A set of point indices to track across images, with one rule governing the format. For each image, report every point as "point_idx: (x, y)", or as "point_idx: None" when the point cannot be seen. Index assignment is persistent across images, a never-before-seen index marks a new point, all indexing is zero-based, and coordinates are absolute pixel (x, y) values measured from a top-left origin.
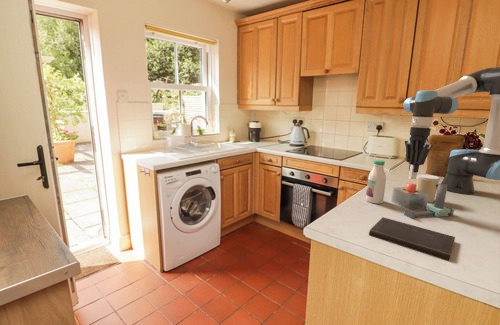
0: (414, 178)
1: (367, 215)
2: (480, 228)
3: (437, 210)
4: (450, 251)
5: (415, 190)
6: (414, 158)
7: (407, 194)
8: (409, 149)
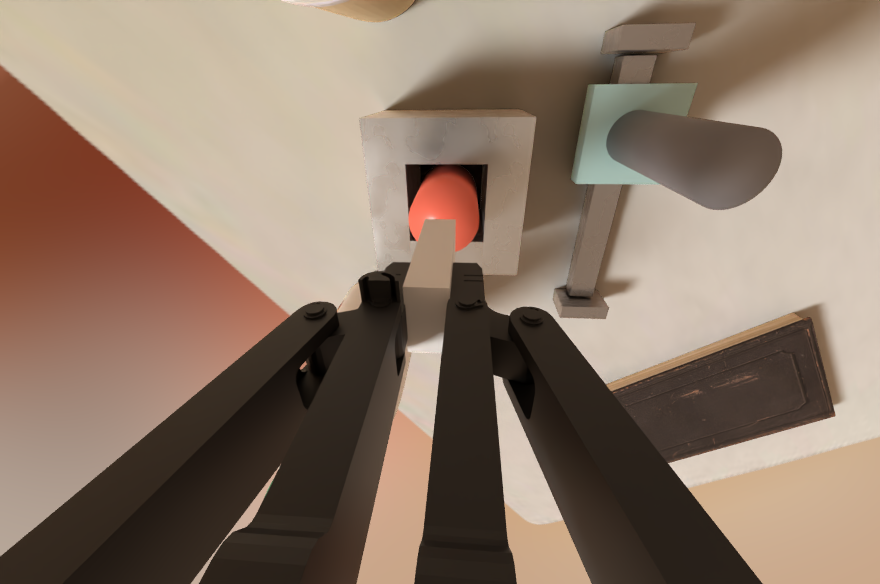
0: (455, 236)
1: (513, 407)
2: (858, 45)
3: (650, 182)
4: (830, 403)
5: (475, 195)
6: (389, 378)
7: (497, 272)
8: (193, 536)
